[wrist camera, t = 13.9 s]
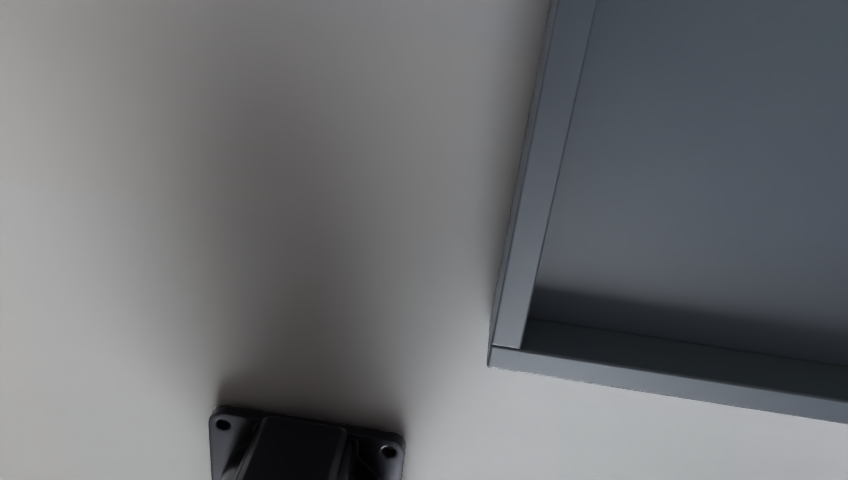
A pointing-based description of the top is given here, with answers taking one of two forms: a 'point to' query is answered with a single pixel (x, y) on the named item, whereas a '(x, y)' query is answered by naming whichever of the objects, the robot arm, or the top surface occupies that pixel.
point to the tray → (685, 205)
